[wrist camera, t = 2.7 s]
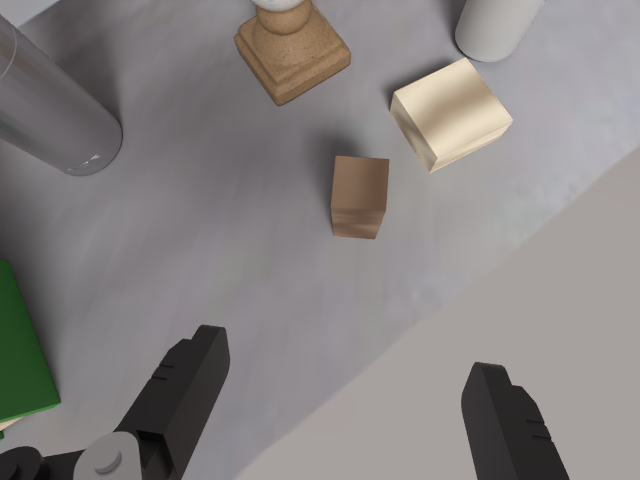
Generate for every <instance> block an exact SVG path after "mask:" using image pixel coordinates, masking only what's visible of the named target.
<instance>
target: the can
mask: <svg viewBox="0 0 640 480" xmlns="http://www.w3.org/2000/svg"><path fill="white" fill-rule="evenodd" d="M545 1H546V0H467V1H466V4H465V6H464V9H463V11H462V14H461V17H460V19H459V22H458V24H457V27H456V31H455V40H456V43H457V45H458V47H459V49H460V50H461V51H462V52H463V53H464V54H465V55H467V56H468V57H470V58H472V59H474V60H477V61H482V62H492V61H498V60H501V59H504V58H505V57H507V56H508V55H510V54H511V53H512V52H513V51H514V49H515V48H516V47H517V45H518V44H519V42H520V40H521V39H522V37H523V36H524V34H525V32H526V31H527V29H528V28H529V26H530V24H531V23H532V21H533V20H534V18H535V17H536V15H537V13H538V12H539V10H540V9H541V7H542V5H543V4H544V2H545Z"/></svg>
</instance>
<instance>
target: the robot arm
mask: <svg viewBox="0 0 640 480" xmlns="http://www.w3.org/2000/svg"><path fill="white" fill-rule="evenodd" d="M0 138H1V139H3V140H5V141H7V142H9V143H10V144H12V145H14V146H16V147H18V148H20V149H22V150H23V151H25V152H27V153H29V154H31V155H33V156H35V157H36V158H38V159H40V160H42V161H44V162H46V163H48V164H49V165H51V166H53V167H55V168H57V169H59V170H61V171H62V172H64V173H67V174H70V175H74V176H83V175H89V174H92V173H95V172H97V171H99V170H101V169H103V168H104V167H105V166H106V165H108V164H109V163H110V162H111V161H112V160H113V158H114V157H115V156H116V154H117V152H118V151H119V148H120V145H121V141H122V130H121V127H120V124H119V122H118V121H117V119H116V118H115V117H114V116H113V115H112V114H111V113H110V112H108V111H107V110H106V109H105V108H104V107H103V106H102V105H101V104H100V103H99V102H98V101H97V100H96V99H95V98H93V97H92V96H91V95H90V94H89V93H88V92H87V91H86V90H85V89H83V88H82V87H81V86H80V85H79V84H78V83H77V82H76V81H75V80H73V79H72V78H71V77H70V76H69V75H68V74H67V73H66V72H65V71H63V70H62V69H61V68H60V67H59V66H58V65H57V64H56V63H55V62H53V61H52V60H51V59H50V58H49V57H48V56H47V55H46V54H45V53H44V52H42V51H41V50H40V49H39V48H38V47H37V46H35V45H34V44H33V43H32V42H31V41H30V40H29V39H28V38H27V37H25V36H24V35H23V34H22V33H21V32H20V31H19V30H18V29H17V28H15V27H14V26H13V25H12V24H11V23H10V22H9V21H8V20H6V19H5V18H4V17H3V16H2V15H1V14H0ZM229 366H230V355H229V348H228V341H227V334H226V329H225V328H224V327H217V326H210V325H201V326H200V327H199V328H198V329H197V331H196V333H195V334H194V336H193V337H192V339H191V340H189V339H182V340H181V341H179V342H178V343H177V344H176V345H175V346H173V347H172V348H171V349H170V350H169V351H168V352H167V354H166V355H165V357H164V358H163V360H162V361H161V363H160V364H159V367H157V369H156V370H155V372H154V373H153V375H152V377H151V379H149V381H148V382H147V384H146V385H145V387H144V388H143V390H142V391H141V393H140V394H139V396H138V397H137V399H136V400H135V402H134V403H133V405H132V406H131V408H130V409H129V411H128V412H127V414H126V415H125V416H124V418H123V419H122V421H121V422H120V424H119V425H118V427H117V428H116V429H115V430H114V431H113V432H112V433H110V434H107V435H105V436H103V437H101V438H99V439H97V440H96V441H95V442H93V443H92V444H91V445H90V446H89V447H88V448H87V449H84V450H80V451H76V452H70V453H64V454H59V455H53V456H47V457H42V455H41V454H40V453H39V451H38V450H37V449H35V448H33V447H29V446H23V447H17V448H14V449H11V450H8V451H6V452H4V453H2V454H0V480H181V479H182V477H183V474H184V472H185V470H186V468H187V465H188V463H189V461H190V458H191V456H192V454H193V452H194V449H195V447H196V445H197V443H198V440H199V438H200V436H201V434H202V431H203V429H204V427H205V425H206V422H207V420H208V418H209V416H210V413H211V411H212V409H213V407H214V404H215V402H216V400H217V397H218V395H219V393H220V391H221V388H222V386H223V384H224V382H225V379H226V377H227V374H228V371H229ZM461 407H462V414H463V418H464V423H465V427H466V431H467V436H468V440H469V444H470V449H471V453H472V457H473V462H474V465H475V470H476V474H477V479H478V480H570V479H569V477H568V474H567V472H566V470H565V468H564V465H563V463H562V461H561V458H560V456H559V454H558V452H557V449H556V447H555V445H554V443H553V442H552V441H551V436H550V434H549V431H548V429H547V427H546V426H545V425H544V420H543V418H542V415H541V413H540V411H539V409H538V406H537V404H536V403H535V402H534V400H533V399H532V398H531V397H530V396H529V394H528V393H527V392H526V391H525V390H524V389H523V387H521V386H514V385H512V384H511V381H510V379H509V377H508V374H507V371H506V369H505V368H504V367H503V366H502V365H496V364H489V363H480V362H475V363H474V365H473V367H472V369H471V372H470V375H469V377H468V380H467V382H466V385H465V387H464V390H463V393H462V399H461Z"/></svg>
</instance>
